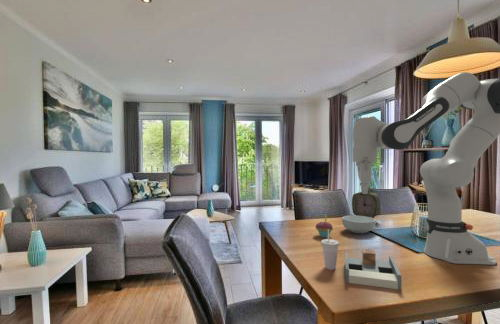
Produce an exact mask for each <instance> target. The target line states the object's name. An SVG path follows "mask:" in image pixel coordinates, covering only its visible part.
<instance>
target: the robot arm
mask: <svg viewBox="0 0 500 324" xmlns="http://www.w3.org/2000/svg"><path fill="white" fill-rule="evenodd" d="M421 106H422V107H421V108H420V109H418V110H417V111H415V112H414V113H412V114H411V115H410V116H409V117H407V118H405V119H402V120H397V121H394V122H391V123H386V122H384V121H382V120H380V119H378V118H377V117H376V116H374V115H370V116H364V117H360V118H358V119H356V120H355V122H354V125H353V128H352V141H353V148H352V162H353V163H355V166H356V168H357V169H356V170H357V176H358V179H359V181H360V183H361V186H360V191H362V193H363V194H367V193H368V189H369V188H368V187H369V184H370V183H371V184H372V167H373V166H374V163H377V161H378V160H377V159H378V148H379V149H382V150H400V151H401V150H405V149H407V148H409V147H410V146H411V145H412V144H413V143H414V141H415V139H416V138H417V136H418V135H419V134H420V133H421V132H422V131H423V130H424V129H426V128H427V127H429V126H430V125H431V124H432V123H434V122H436V120H438V119H439V118H441V117H444V116H445V115H447V114H449V113H451V112H453V111H454V110H456V109H457V108H459V107H460V108H463V109H466V110H474V112H473V115H472V117H471V118H470V119H469V120H468V121H467V122H466V123H465V124H464V126H462V128H461V129H460V130H459V131H458V132H457V133H456V134H455V136H453V138H452V139H451V140H450V142H449V147H448V150H447V151H446V153H445V155H444V156H442V157H441V158H431V159H429V160H427V161H425V162H423V163H422V164H421V166H420V168H419V174H420V176H421V178H422V180H423V185H424V190H425V195H426V200H427V218H426V221H425V222H426V223H425V224H426V225H425V228H426V232H427V233H426V240H425V241H426V242H425V245H424V248H423V253H424V254H426V255H428V256H430V257H432V258H435V259H439V260H442V261H445V262H447V263H450V264H458V265H459V264H460V265H461V264H463V265H493V266H495V265H497V259H496V258H495V257H494V256H493V255H491V254H489V253H488V248H487V245H486V244H485V243H484V242H483V241H482V240H480V239H479V238H477V237H476V236H475V235H474V234H472V233H470V232H469V231H472V230H473V229H474V227H473V225H472V224H469V223H466V222H465V221H463V220H462V217H463V216H462V214H463V213H462V210H463V209H462V200H461V198H460V197H459V195H458V193H457V189H456V188H462V187H465V186H467V185H469V184H470V183H471V182H472V181H473V179H474V176H475V173H474V169H475V167H476V165H477V163H478V161H479V159H480V157H482V156H483V154H484V153H485V152H486V151H487V149H488V148H489V147H490V146H491V145H492V144H493V143H494V141H496V140H497V138H498V137H499V135H500V78H489V79H484V80H483V79H482V80H479V79H478V77H477V76H475V74H473V73H471V72H466V71H465V72H459V73H457V74H454V75H452V76H451V77H449V78H447V79H446V80H444V81H442V82H440V83H438V84H437V85H436V86H434V87H433V88H432V89H430V90H429V91H428V92H427V93H426V94H425V95H424V96H423V97H422V100H421ZM468 230H469V231H468Z"/></svg>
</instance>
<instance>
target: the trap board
mask: <svg viewBox="0 0 500 324" xmlns="http://www.w3.org/2000/svg"><path fill="white" fill-rule="evenodd" d="M344 254H345V256H344V257H345V258H344V259H345V260H344V261H345V264H344V265H345V283H346V284H353V285H354V284H355V285H361V286H369V287H375V288H376V287H379V288H382V289H383V288H386V289H393V290H399V291H400V290H402V274H401V271H400V270H399V268H398V265H397V263H396V261H395V259H394V256H393V255H389V256H388V260H379V259H376V265H370V264H363V258H362V257H361V258H360V257H359V258H358V257H350V256H349V251H345V253H344Z"/></svg>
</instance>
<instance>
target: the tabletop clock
mask: <svg viewBox="0 0 500 324" xmlns="http://www.w3.org/2000/svg"><path fill="white" fill-rule="evenodd" d="M369 184H370V185H368V193H367V194H363V193H362V190H360V191H358V192H356V193H354V194H352V198H351V209H352V213H353V216H366V217H371V218H373V219H375V217H377V216H378V215H379V213H380V210H381V199H380V195H379V194H378V193H377V192H372V191H371V189H370V188H371V187H372V186H373V184H372V182H371V183H369ZM359 186H360V187H361V182H360V183H359Z"/></svg>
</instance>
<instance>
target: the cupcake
mask: <svg viewBox="0 0 500 324" xmlns="http://www.w3.org/2000/svg"><path fill="white" fill-rule="evenodd" d="M327 218H328V216H327V214H325V216H324V221H320V222H317V223H316V225H315V230H317V232H318V234H319V236H320V237H321V238H328V230H329V237H330V236H331V232H332V231H333V229H334V227H333V225H332V223H329V222H327Z"/></svg>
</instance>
